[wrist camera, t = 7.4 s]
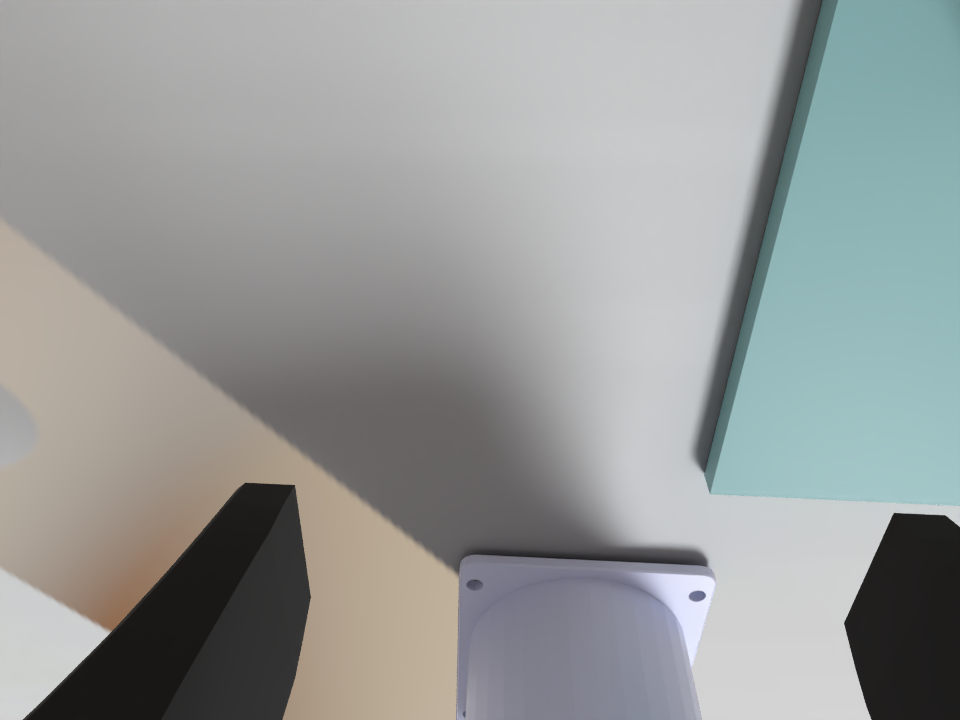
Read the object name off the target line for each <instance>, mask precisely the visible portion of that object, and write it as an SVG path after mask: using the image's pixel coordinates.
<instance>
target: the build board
mask: <svg viewBox="0 0 960 720" xmlns="http://www.w3.org/2000/svg"><path fill="white" fill-rule="evenodd" d="M704 476H705V479H706V482H707V486H708V489H709V492H710V494H718V495H739V496H760V497H781V498H803V499H824V500H845V501H866V502H887V503H909V504H930V505H951V506H960V0H823V1H822V5H821V9H820V13H819V17H818V21H817V25H816V29H815V33H814V37H813V41H812V45H811V49H810V53H809V57H808V61H807V65H806V69H805V73H804V77H803V81H802V85H801V89H800V93H799V97H798V101H797V105H796V109H795V113H794V117H793V121H792V125H791V129H790V133H789V137H788V141H787V145H786V149H785V153H784V157H783V161H782V165H781V169H780V173H779V177H778V181H777V185H776V189H775V193H774V197H773V201H772V205H771V209H770V213H769V217H768V221H767V225H766V229H765V233H764V237H763V241H762V245H761V249H760V253H759V257H758V261H757V265H756V269H755V273H754V278H753V282H752V286H751V290H750V294H749V298H748V302H747V306H746V310H745V314H744V318H743V322H742V326H741V330H740V334H739V338H738V342H737V346H736V350H735V354H734V358H733V362H732V366H731V370H730V374H729V378H728V382H727V386H726V390H725V394H724V398H723V402H722V406H721V410H720V414H719V418H718V422H717V426H716V430H715V434H714V438H713V442H712V446H711V450H710V454H709V458H708V462H707V466H706V470H705V474H704Z"/></svg>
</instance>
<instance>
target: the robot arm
mask: <svg viewBox="0 0 960 720" xmlns="http://www.w3.org/2000/svg"><path fill="white" fill-rule="evenodd" d="M474 579H475V580H479V581H473V580H474ZM715 587H716V579H715V575H714V572H713V571H712V569H710V568H708V567H705V566H699V565H678V564H658V563H637V562H617V561H596V560H575V559H555V558H534V557H514V556H493V555H469V556H467V557H465V558H464V559H463V560H461V563H460V569H459V609H458V662H457V664H458V665H457V710H456V720H702V716H701V711H700V707H699V702H698V697H697V693H696V688H695V683H694V679H693V674H692V666H693V663H694V659H695V656H696V652H697V649H698V645H699V642H700V639H701V635H702V632H703V628H704V625H705V621H706V618H707V614H708V611H709V608H710V604H711V601H712V597H713V594H714V590H715ZM698 590H699V591H698ZM693 591H695V592H693ZM310 598H311V596H310V589H309V582H308V575H307V568H306V561H305V554H304V547H303V539H302V532H301V525H300V519H299V511H298V504H297V497H296V490H295V485H280V484H279V485H278V484H258V483H245V484H243V485H242V486H241V487H239V488H238V489H237V490H236V492H235V493H234V494H233V495H232V496H231V497H230V499H229V500H228V501H227V502H226V503H225V505H224V506H223V507H222V508H221V509H220V510H219V512H218V513H217V514H216V515H215V516H214V518H213V519H212V520H211V521H210V523H209V524H208V525H207V526H206V527H205V528H204V530H203V531H202V532H201V533H200V534H199V535H198V537H197V538H196V539H195V540H194V541H193V543H192V544H191V545H190V546H189V547H188V548H187V549H186V550H185V552H184V553H183V554H182V555H181V556H180V557H179V558H178V560H177V561H176V562H175V563H174V564H173V565H172V566H171V568H170V569H169V570H168V571H167V572H166V573H165V574H164V576H163V577H162V578H161V579H160V580H159V581H158V582H157V583H156V584H155V585H154V586H153V588H152V589H151V590H150V591H149V592H148V593H147V594H146V595H145V596H144V597H143V598H142V600H141V601H140V602H139V603H138V604H137V605H136V606H135V607H134V608H133V609H132V610H131V612H130V613H129V614H128V615H127V616H126V617H125V618H124V619H123V620H122V621H121V622H120V623H119V625H118V626H117V627H116V628H115V629H114V630H113V631H112V632H111V633H110V634H109V635H108V636H107V637H106V638H105V639H104V640H103V641H102V642H101V643H100V644H99V645H98V646H97V647H96V648H95V649H94V650H93V651H92V652H91V653H90V654H89V655H88V656H87V657H86V658H85V659H84V660H83V661H82V662H81V663H80V664H79V665H78V666H77V667H76V668H75V669H74V670H73V671H72V672H71V673H70V674H69V675H68V676H67V677H66V678H65V679H64V680H63V681H62V682H61V683H60V684H59V685H58V686H57V687H56V688H55V689H54V690H53V691H52V692H51V693H50V694H49V695H48V696H47V697H46V698H45V699H44V700H43V701H42V702H41V703H40V704H39V705H38V706H37V707H36V708H35V709H34V710H33V711H32V712H30V713H29V714H28V715H27V716H26V717H25V718H24V719H23V720H282V719H283V716H284V712H285V709H286V706H287V703H288V699H289V696H290V693H291V689H292V686H293V683H294V679H295V676H296V670H297V666H298V661H299V656H300V651H301V646H302V641H303V636H304V630H305V625H306V619H307V614H308V609H309V603H310ZM844 625H845V628H846V632H847V636H848V640H849V644H850V648H851V652H852V656H853V660H854V664H855V668H856V672H857V675H858V678H859V682H860V685H861V689H862V692H863V696H864V699H865V703H866V706H867V709H868V711H869V714H870V717H871V719H872V720H960V527H959V526H958V525H957V524H955V523H954V522H953V521H952V520H950V519H949V518H948V517H947V516H945V515H924V514H902V513H894V514H893V516H892V518H891V521H890V523H889V525H888V527H887V529H886V532H885V534H884V536H883V538H882V540H881V543H880V545H879V547H878V549H877V552H876V554H875V556H874V558H873V560H872V563H871V565H870V567H869V569H868V572H867V574H866V576H865V578H864V580H863V583H862V585H861V587H860V589H859V591H858V594H857V596H856V598H855V600H854V603H853V605H852V607H851V609H850V611H849V614H848V616H847V618H846V620H845V622H844Z"/></svg>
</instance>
